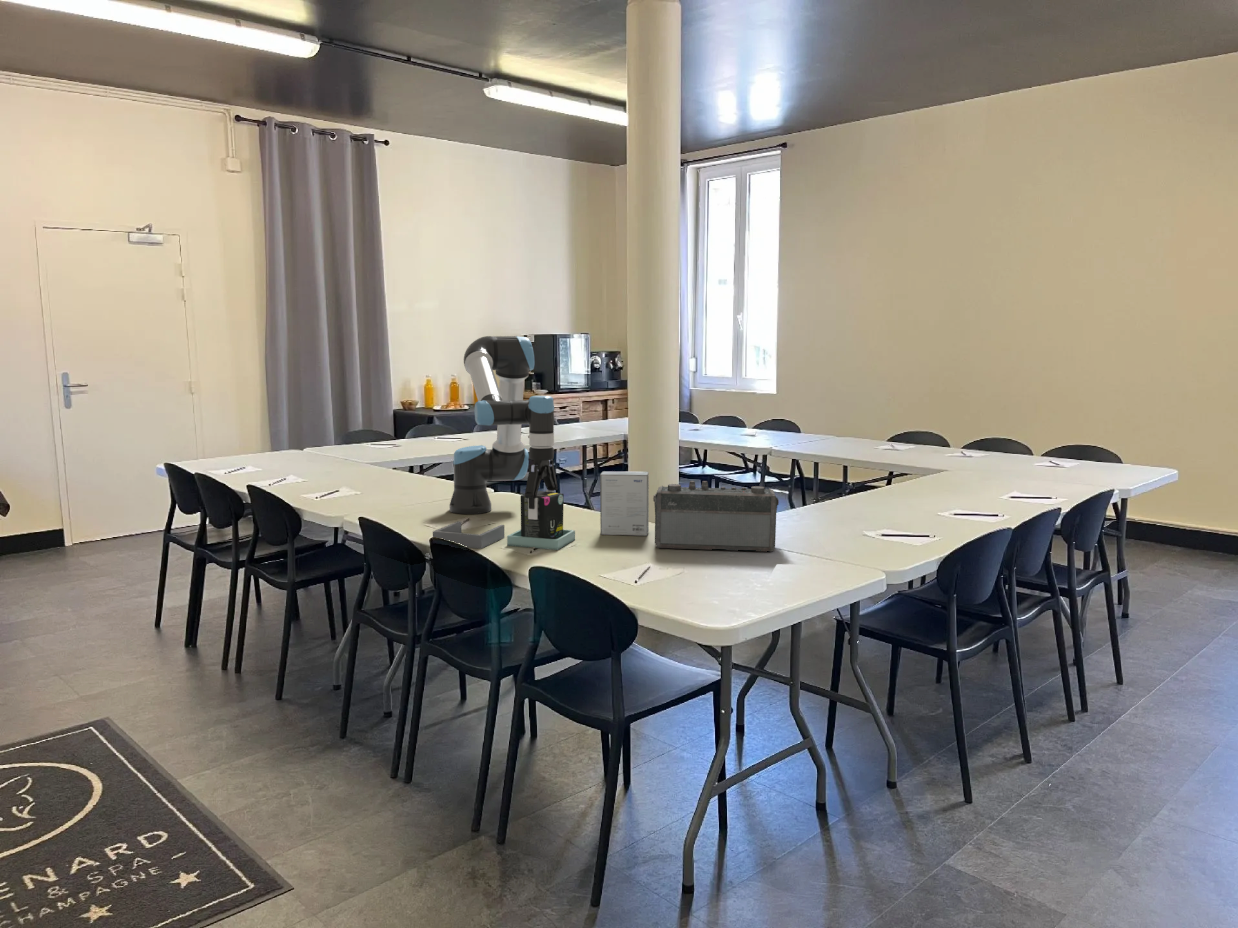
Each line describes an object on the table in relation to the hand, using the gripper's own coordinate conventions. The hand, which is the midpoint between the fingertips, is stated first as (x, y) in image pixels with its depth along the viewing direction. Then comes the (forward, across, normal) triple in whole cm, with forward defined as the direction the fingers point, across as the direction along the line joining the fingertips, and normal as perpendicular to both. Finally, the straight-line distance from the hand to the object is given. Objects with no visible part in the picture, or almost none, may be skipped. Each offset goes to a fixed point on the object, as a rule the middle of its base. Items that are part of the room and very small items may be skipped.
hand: (541, 515), depth 275 cm
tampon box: (+8, 0, 0) cm, 8 cm away
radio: (+9, -14, +51) cm, 54 cm away
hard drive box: (+9, -22, +20) cm, 31 cm away
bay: (+9, +5, -22) cm, 24 cm away
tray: (+9, 0, 0) cm, 9 cm away
